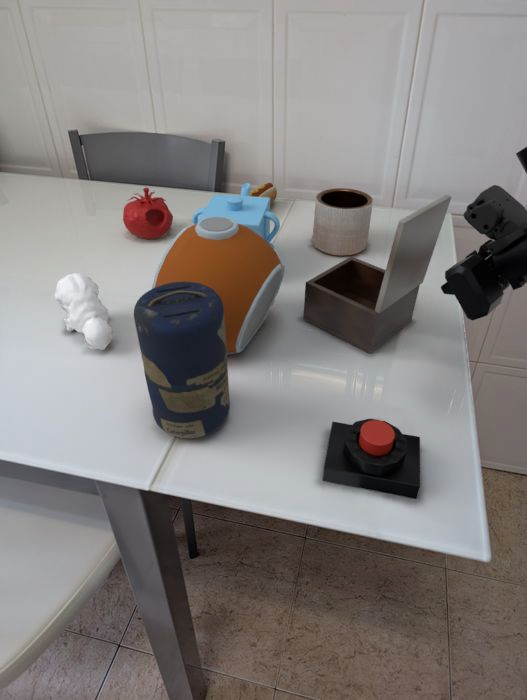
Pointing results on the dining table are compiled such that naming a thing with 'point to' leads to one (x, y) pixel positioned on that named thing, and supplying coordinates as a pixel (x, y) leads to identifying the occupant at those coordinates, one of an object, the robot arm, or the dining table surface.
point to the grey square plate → (411, 252)
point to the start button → (376, 437)
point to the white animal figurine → (84, 309)
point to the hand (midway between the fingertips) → (443, 289)
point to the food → (265, 192)
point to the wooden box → (355, 304)
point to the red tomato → (147, 216)
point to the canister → (184, 357)
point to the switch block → (373, 462)
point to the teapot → (242, 212)
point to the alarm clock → (227, 272)
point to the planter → (342, 221)
